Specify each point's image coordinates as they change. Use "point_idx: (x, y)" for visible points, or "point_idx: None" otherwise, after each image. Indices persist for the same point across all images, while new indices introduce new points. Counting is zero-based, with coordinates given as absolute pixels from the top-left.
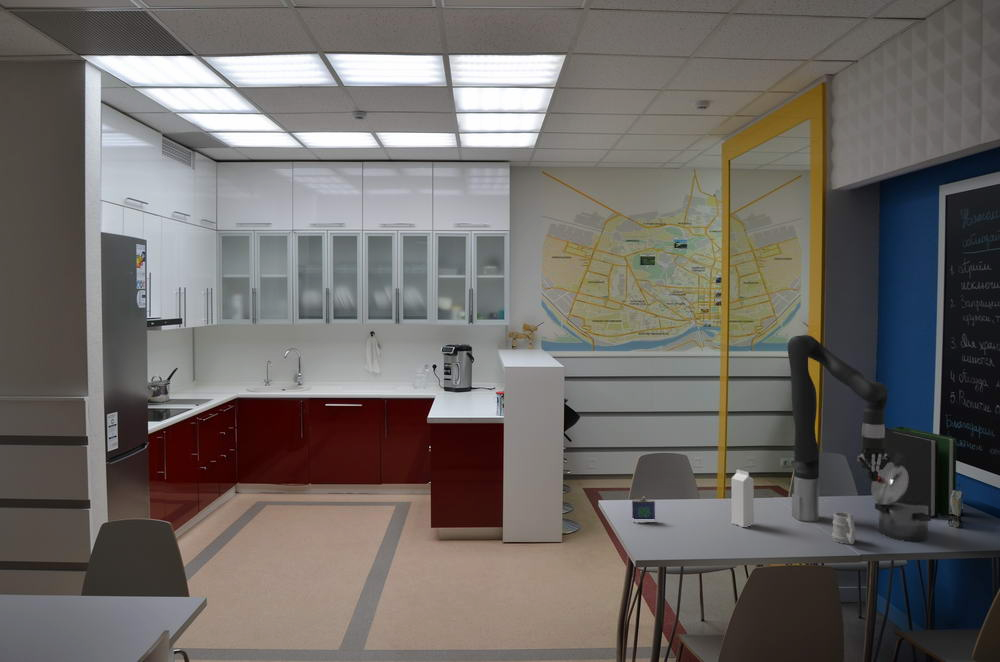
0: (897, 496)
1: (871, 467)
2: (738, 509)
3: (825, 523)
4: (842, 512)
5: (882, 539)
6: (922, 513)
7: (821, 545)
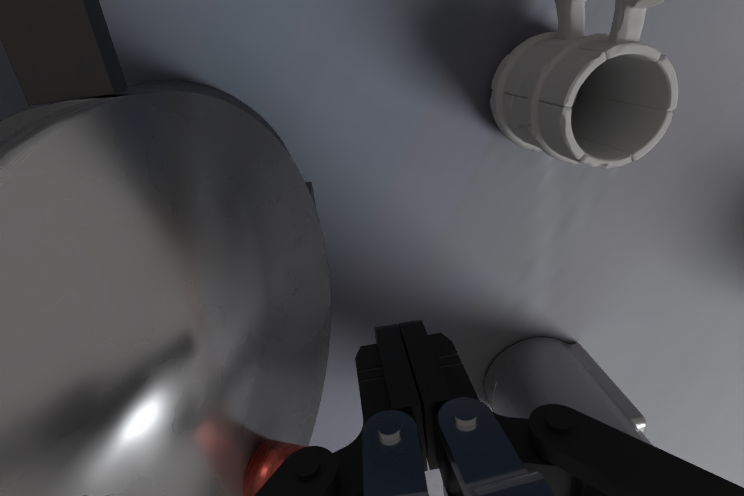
0: (222, 100)
1: (512, 449)
2: None
3: (486, 322)
4: (595, 160)
5: (328, 117)
6: (33, 82)
7: (683, 17)
